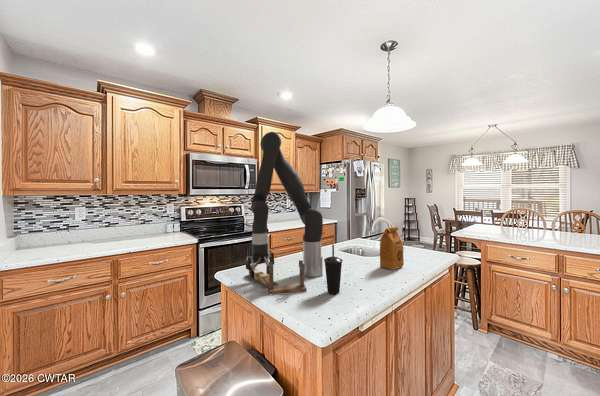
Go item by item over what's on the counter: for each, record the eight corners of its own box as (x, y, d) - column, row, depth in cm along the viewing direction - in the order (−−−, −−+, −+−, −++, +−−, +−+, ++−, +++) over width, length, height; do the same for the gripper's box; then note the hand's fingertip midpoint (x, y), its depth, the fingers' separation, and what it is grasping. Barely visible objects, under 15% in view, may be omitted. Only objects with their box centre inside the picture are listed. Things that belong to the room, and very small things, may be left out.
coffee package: (406, 267, 137) (406, 227, 137) (393, 271, 130) (392, 229, 130) (391, 263, 146) (390, 225, 145) (377, 267, 138) (376, 227, 138)
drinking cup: (338, 297, 100) (337, 247, 99) (321, 293, 104) (320, 245, 103) (345, 291, 106) (345, 243, 106) (329, 287, 110) (328, 242, 110)
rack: (304, 287, 111) (304, 260, 111) (306, 292, 105) (306, 263, 105) (267, 289, 109) (267, 262, 108) (268, 295, 103) (267, 265, 103)
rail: (273, 283, 114) (273, 277, 114) (267, 285, 112) (267, 278, 112) (254, 274, 128) (254, 268, 128) (248, 275, 126) (248, 269, 126)
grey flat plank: (244, 276, 126) (244, 275, 126) (256, 273, 130) (256, 272, 130) (265, 288, 110) (265, 287, 110) (278, 284, 115) (278, 283, 115)
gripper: (250, 245, 112) (250, 281, 113) (277, 241, 121) (277, 274, 122) (242, 243, 118) (243, 277, 119) (268, 239, 127) (269, 271, 127)
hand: (260, 276), depth 120 cm, fingers open, 8 cm apart
